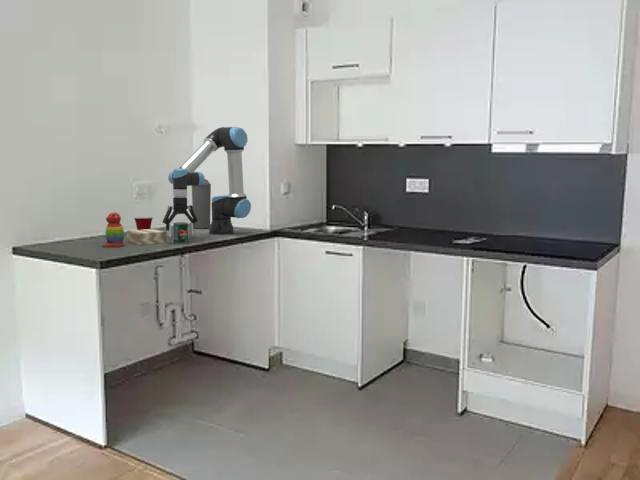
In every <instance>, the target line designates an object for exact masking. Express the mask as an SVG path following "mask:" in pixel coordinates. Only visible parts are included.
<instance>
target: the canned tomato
mask: <svg viewBox="0 0 640 480" xmlns="http://www.w3.org/2000/svg"><path fill="white" fill-rule="evenodd" d="M172 224H173V226H172V227H173V230H172V231H173V243H174V244H177V245H178V244H181V245H183V244H189V222H184V221H183V222H182V221H180V222H178V221H177V222H173V223H172Z"/></svg>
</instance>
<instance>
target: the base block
mask: <svg viewBox="0 0 640 480" xmlns="http://www.w3.org/2000/svg"><path fill="white" fill-rule="evenodd" d="M167 237H168V236H167V230H166V231H165V230H162V229H161V230H160V229H158V228H157V229H156V228H151V229H143V230H137V229H132V230H131V229H130V230H126V242H128V243H131V244H135V245H138V246H141V245H153V244H166V243H167V242H168V238H167Z"/></svg>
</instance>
